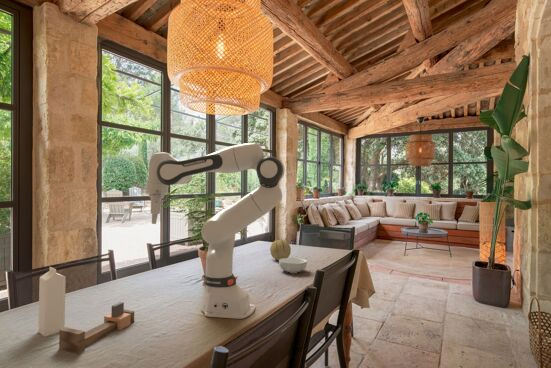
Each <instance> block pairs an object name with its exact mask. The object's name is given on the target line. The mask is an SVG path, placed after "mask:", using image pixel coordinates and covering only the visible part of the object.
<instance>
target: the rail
mask: <svg viewBox="0 0 551 368" xmlns="http://www.w3.org/2000/svg"><path fill="white" fill-rule="evenodd" d="M124 313H128V314H131V324H133V323H135V311H134V310H128V309H124ZM117 330H118V329H117V322H114V321H107V322H105V323H104V322H103V323H101V324H99V325H97V326H95V327H93V328H91V329H89V330H87V331H85V330H81V329H76V328H71V327H67V326H65V328H63V329H61V330H60V332H58V334H59V339H58V340H59V341H58V350H60V351H63V352H64V351H65V352H69V353H74V354H78V355H80V354H82V353H83V352H85V348H86V347H87V346H89V345H91V344H93V343H94V342H96V341H98V340H101V339H102V338H104V337H106V336H108V335H109V334H111V333H113V332H115V331H117Z"/></svg>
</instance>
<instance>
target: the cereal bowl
mask: <svg viewBox="0 0 551 368" xmlns="http://www.w3.org/2000/svg"><path fill="white" fill-rule="evenodd" d="M307 262H308V260H307V259H304V258H300V257H288V258H283V259H280V260H278V263H279V267H280V269H281V270H283V271H285V272H286V271H287V272H286V273H288V272H290V273H289V274H298V273H297V272H299V273H300V272H302V271H304V270H305V269H306V267H307V264H308V263H307Z"/></svg>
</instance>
